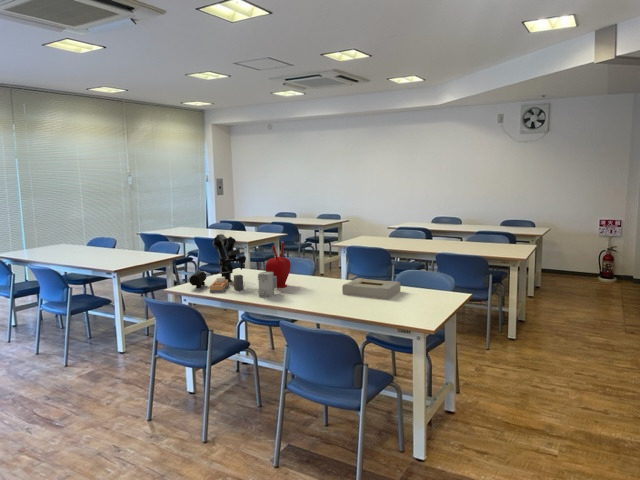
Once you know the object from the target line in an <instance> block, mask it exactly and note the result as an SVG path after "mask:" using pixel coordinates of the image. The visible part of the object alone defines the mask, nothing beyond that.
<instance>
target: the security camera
mask: <svg viewBox="0 0 640 480" xmlns="http://www.w3.org/2000/svg"><path fill="white" fill-rule="evenodd" d="M188 279H189V280H188V281H189V284H190V285H191V286H195V289H200V288H201V287H202V286H205V285H206V282H205V281H206V280H207V273H206V272H205V271H197V272H195V273H194V274H192V275H191V276H190V277H189V278H188Z"/></svg>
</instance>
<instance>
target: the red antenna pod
mask: <svg viewBox="0 0 640 480" xmlns="http://www.w3.org/2000/svg"><path fill="white" fill-rule="evenodd" d="M284 247H285V243H284V242H282V243H281V252H280V256H278V254H277V250H276V246H275V245H272V246H271V248H272V250H273V254H274V257H272V258H269V259H268V260H267V261H266V262H265V268H264V269H265V272H274V276H277V288H276V289H285V288H286V287H288V284H286V282H287V280H288V277H289V275H290V273H291V265H292V263H291V261H290V260H289V259H288V258H287V257H284Z"/></svg>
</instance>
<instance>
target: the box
mask: <svg viewBox="0 0 640 480" xmlns="http://www.w3.org/2000/svg"><path fill="white" fill-rule="evenodd" d="M400 292H401V282H400V281H396V280H395V281H393V280H392V281H391V280H387V281H386V280H381V279H380V280H378V279H377V280H376V279H369V278H368V279H367V278H361V277H357V278H355V279H352V280H351V281H349V282H347V283H344V284H342V295H346V296H353V297H363V298H371V299H382V300H390V299H392V297H394V296H395V295H397V294H399V293H400Z"/></svg>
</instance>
